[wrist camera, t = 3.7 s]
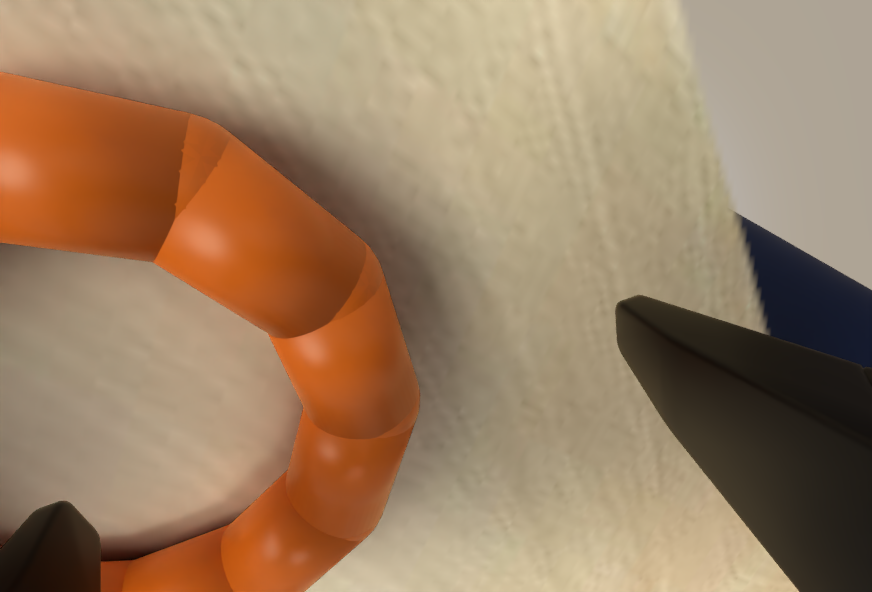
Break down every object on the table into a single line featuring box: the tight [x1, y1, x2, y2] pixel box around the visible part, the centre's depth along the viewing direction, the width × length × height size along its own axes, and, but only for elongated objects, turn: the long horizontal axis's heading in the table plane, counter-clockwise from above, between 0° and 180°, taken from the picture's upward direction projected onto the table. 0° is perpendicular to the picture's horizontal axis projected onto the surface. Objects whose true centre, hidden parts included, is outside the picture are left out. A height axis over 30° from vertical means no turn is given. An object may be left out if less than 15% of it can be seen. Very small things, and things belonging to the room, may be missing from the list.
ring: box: [0, 72, 420, 592], centre depth 10 cm, size 12×12×2 cm
